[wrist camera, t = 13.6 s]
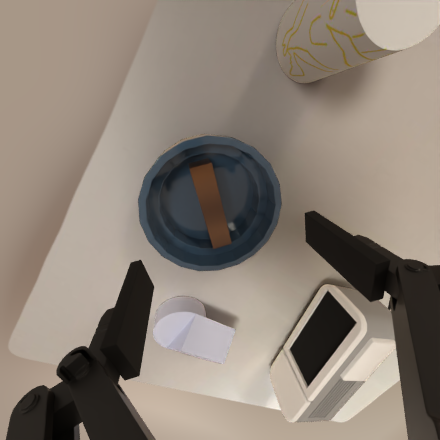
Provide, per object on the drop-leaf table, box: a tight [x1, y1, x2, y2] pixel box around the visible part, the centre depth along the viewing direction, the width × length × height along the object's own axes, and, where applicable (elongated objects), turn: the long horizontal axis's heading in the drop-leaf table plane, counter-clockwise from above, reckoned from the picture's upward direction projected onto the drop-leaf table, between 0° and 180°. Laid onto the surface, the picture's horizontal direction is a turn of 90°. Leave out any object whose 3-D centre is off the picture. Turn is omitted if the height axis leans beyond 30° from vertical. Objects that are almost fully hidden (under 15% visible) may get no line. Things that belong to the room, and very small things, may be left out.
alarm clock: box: [270, 284, 396, 423], centre depth 40 cm, size 27×9×12 cm, turn 161°
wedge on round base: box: [153, 296, 236, 364], centre depth 35 cm, size 9×7×13 cm
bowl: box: [138, 134, 282, 271], centre depth 27 cm, size 17×17×6 cm
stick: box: [188, 158, 232, 249], centre depth 27 cm, size 11×3×4 cm, turn 13°
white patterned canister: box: [276, 0, 440, 83], centre depth 18 cm, size 8×8×12 cm
